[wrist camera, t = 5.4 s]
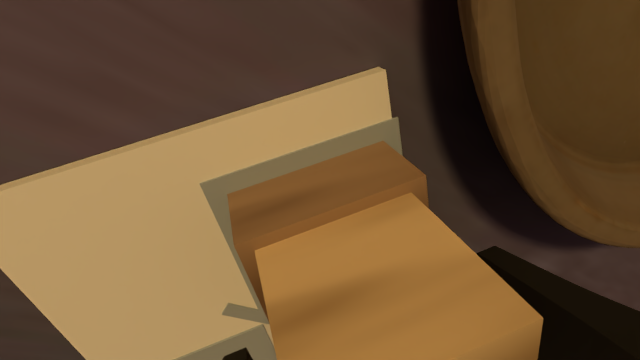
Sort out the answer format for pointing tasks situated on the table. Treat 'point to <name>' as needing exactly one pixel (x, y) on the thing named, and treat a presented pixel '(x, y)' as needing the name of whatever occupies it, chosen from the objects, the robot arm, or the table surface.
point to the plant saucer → (564, 105)
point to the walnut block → (317, 199)
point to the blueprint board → (173, 225)
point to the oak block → (391, 292)
